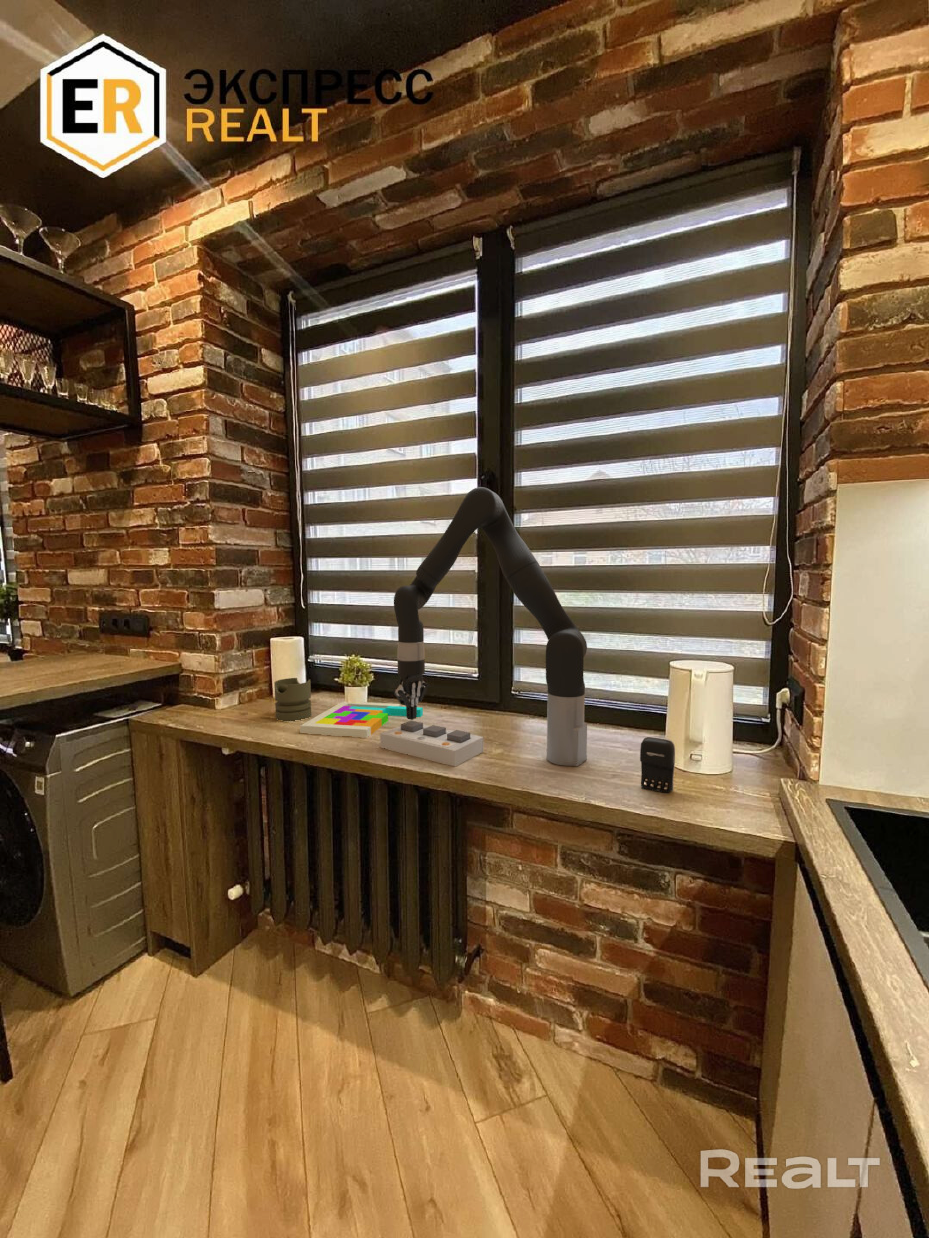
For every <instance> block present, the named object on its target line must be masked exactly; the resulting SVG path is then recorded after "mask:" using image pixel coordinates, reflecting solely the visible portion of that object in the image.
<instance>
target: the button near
mask: <svg viewBox="0 0 929 1238" xmlns="http://www.w3.org/2000/svg"><path fill="white" fill-rule="evenodd" d="M452 731H453V732H451V733H448V734H447V740H449V741H453V742H458V743H463V742H465V741H467V740H469V739H470V734H471V732H468V731H463V730H460V729H456V730H452Z"/></svg>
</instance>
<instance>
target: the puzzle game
mask: <svg viewBox="0 0 929 1238" xmlns="http://www.w3.org/2000/svg"><path fill="white" fill-rule="evenodd" d="M346 701H347V700H346ZM346 701H345V700H342V701H341V702H339V703H338V704H336V705H334V706H332V707H331V708H329V709H327V710H325V711H324V712H321V713H320V714H318V715H316V716H315V717H313V718H310V719H309V720H308V721H306V722H304V723H302V724H300V725H299V728H300V729H299V730H300V731H299V734H300V733H308V734H307V735H311V734H321V735H320V736H327V735H331V736H330V737H342V736H352V737H351V738H358V737H361V739H368V738H369V737H370V736H371V735H373V734H374V733H376V731H378V730H379V729H380V728H381V727H383V726H384V725H385V724H386V723H388V722H389V715H390V717H394V716H395V717H407V716H406V706H402V705H401V704H400V703H388V702H387V703H386V702H385V703H384V702H366V701H364V702H363V701H359V702H360V703H347V702H346ZM423 711H424V709H423V707H420V706H418V707H417V715H416V718H421V717H422V716H423V715H424V712H423ZM383 724H384V725H383ZM368 736H369V737H368ZM367 737H368V738H367Z"/></svg>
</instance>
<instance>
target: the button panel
mask: <svg viewBox="0 0 929 1238" xmlns="http://www.w3.org/2000/svg"><path fill="white" fill-rule="evenodd" d="M430 726H431V725H427V724H423V729H424V728H427V727H430ZM423 729H421V730H419V731H416V732H408V731H403V730H401V725H400V726H397V727H393V728H390V729H389V730H386V731H383V732H381V733H379V734H380V735H379V737H380V739H379V740H380V743H379V744H380V748H381V749H384V748H385V749H384V750H389V751H392V752H397V753H400V754H405V755H407V754H408V755H409V756H412V757H415V758H419V759H423V760H428V761H432V762H435V763H439V764H444V765H447V766H451V767H457V766H459V765H461V764H463V763H465V762H466V761H469V760H470V759H472V758H474V757H476V756H478V755H479V754H482V753H484V736H481V735H475V734H471V733H470V739H469V740H467V741H465V742H463V743H458V742H453V741H449V740H447V734H448V733H451V732H453V731H454V730H452V729H447V728H446V734H444V735H442V736H439V737H437V738H435V737H431V736H426V735H423Z"/></svg>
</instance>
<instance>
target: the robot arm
mask: <svg viewBox="0 0 929 1238" xmlns="http://www.w3.org/2000/svg"><path fill="white" fill-rule="evenodd" d="M479 528H480V529H481V530H482V531H483V533H484V534H485V536H486V537H487V538H488V539H487V540H488V541H490V543H491V545H492V547H493V549H494V551H495V554H496V557H497V561H498V565H499V566H500V570H501V573H502V574H503V576H504V579H505V580H506V583H508V586H509V588H510V589H511V591H512V592H513V594H514V595H515V596H516V598H517V599H518V601H519V602H520V603H521V604H522V605H523V606H524V607H525V608H526V610H528V611H529V613H530V614H531V615H533V616H534V618H535V619H536V620H537V622H538V623H539V625H540V627H541V628H542V630H543V632H544V634H545V635H546V638H547V642H546V645H545V647H546V648H545V682H546V685H547V687H546V688H547V710H546V712H547V714H546V715H547V716H546V717H547V718H546V723H547V724H546V760H547V761H548V762H550V763H552V764H555V765H558V766H568V767H569V766H570V767H571V766H573V767H579V766H580V765H582V763H584V762H585V761H586V760H587V758H588V757H587V752H588V751H587V749H588V744H587V743H588V723H587V722H585V705H586V704H585V702H586V700H585V699H586V697H585V696H586V694H585V693H586V683H585V680H584V658H585V656H586V654H587V651H588V643H587V641H586V637H585V636H584V634H583V633H582V632H581V631H580V630H579V628H578V627H577V625H576V624H575V623H574V622H573V620H572V619H571V618H570V616H569V615H568V614H567V612H566V610H565V609H564V607H563V605H562V604H561V602H560V600H559V597H558V596H557V594H556V592H555V590H554V589H553V586H552V584H551V582H550V581H549V579H548V577H547V575H546V574H545V572H544V570H543V569H542V568H543V567H542V566H541V565H540V563H539V561H538V560H537V559H536V557H535V555H534V554H533V553H532V551H531V549H530V548H529V547H528V545H527V544H526V543H525V541H524V540H523V538H522V537H521V536H520V534H519V533H518V531H517V530H516V527H515V526H514V524H513V521H512V519H511V517H510V516H509V514H508V511H507V508H506V507H505V504H504V503H503V499H502V498H501V497H500V496H499V495H498V494H497V493H496V492H494V491H492V490H491V489H489V488H487V487H483V486H480V487H479V486H478V487H474V488H473V489H471V490H470V491H469V492H468V493H467V494H466V495H465V497H464V499H463V500H462V502H461V503H460V505H459V508H458V509H457V510H456V514H454V517H453V518H452V520H451V521H450V523H449V525H448V527H447V528H446V529H445V531H444V533H443V535H441V537H440V539H439V540H438V541H437V543H436V544H435V546H434V547H432V550H431V551H430V552H429V553H428V555H427V556H426V557H425V558H424V559H423V561H422V562H421V563H420V564H419V566H418V568H417V570H416V572H415V575H416V576H415V577H414V579H413V581H412V582H410V584H409V585H402V586H401V587H398V588H397V589H396V591H395V593H394V596H393V608H394V614H395V617H396V623H397V627H398V628H397V629H398V630H397V638H398V639H397V657H396V658H397V675H399V682H398V686H397V688H394V689H393V691H392V692H393V695H394V697H396V699H397V700H398V702H399V704H400V706H404V707H406V716H405V717H406V718H407V719H408V720H409V721H414V720H415V719H417V717H416V715H417V706H418V705H419V703H421V702H423V699H424V698H425V695H426V692H427V690H428V688H429V683H428V682H425V681H424V677H423V675H425V673H426V671H425V670H426V669H425V668H426V666H425V665H426V661H425V660H426V659H425V658H426V657H425V651H426V650H425V649H426V648H425V644H424V643H425V642H424V640H425V639H424V638H425V637H424V636H425V635H424V634H425V633H424V631H425V629H424V628H425V627H424V624H423V621H421V620H420V617H419V610H420V609H422V608H423V607H424V606H425V605H426V604H427V603H428V602H429V600H430V598H431V597H432V595H433V594H434V591H435V590H436V588H437V587H438V585H439V584H440V583H441V582H442V581H443V579H444V578H445V576H446V575H447V574H448V572H449V571H450V570H451V569H452V568H453V566H454V564H455V563H456V561H457V559H458V556H459V555H460V553H461V551H462V549H463V547H464V545H465V544H466V542H467V541H468V539H470V537H471V536H472V535H473V533H475V532H476V531H477V530H478V529H479Z"/></svg>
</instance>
